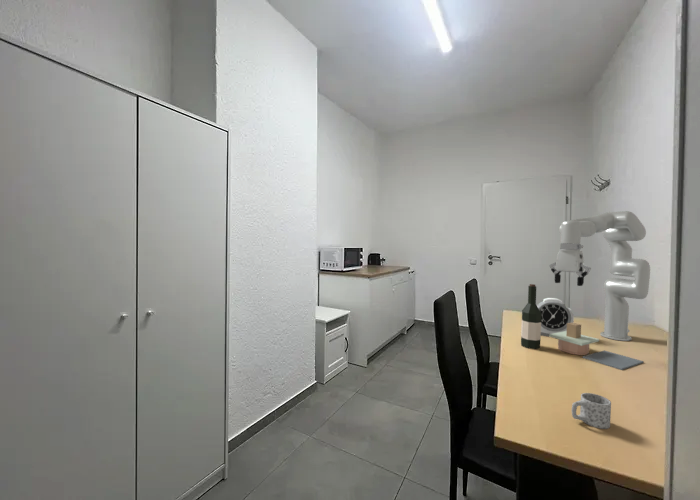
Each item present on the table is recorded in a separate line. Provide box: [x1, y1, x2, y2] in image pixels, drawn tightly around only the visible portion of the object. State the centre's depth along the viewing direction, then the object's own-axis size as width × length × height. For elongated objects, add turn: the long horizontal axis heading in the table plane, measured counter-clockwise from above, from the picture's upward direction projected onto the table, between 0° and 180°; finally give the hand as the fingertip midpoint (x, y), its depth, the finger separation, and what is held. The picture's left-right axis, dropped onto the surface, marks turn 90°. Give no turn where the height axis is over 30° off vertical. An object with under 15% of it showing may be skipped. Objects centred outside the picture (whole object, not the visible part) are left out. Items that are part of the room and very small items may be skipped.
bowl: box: [557, 339, 590, 356], centre depth 144 cm, size 12×12×6 cm
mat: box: [582, 350, 645, 371], centre depth 133 cm, size 18×14×1 cm
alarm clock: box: [536, 297, 575, 338], centre depth 166 cm, size 18×8×20 cm, turn 62°
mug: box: [571, 392, 612, 430], centre depth 87 cm, size 10×7×7 cm, turn 92°
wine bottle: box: [520, 283, 542, 350], centre depth 149 cm, size 8×8×30 cm
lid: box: [549, 322, 600, 346], centre depth 144 cm, size 14×14×7 cm
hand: (568, 284), depth 144 cm, fingers open, 9 cm apart
